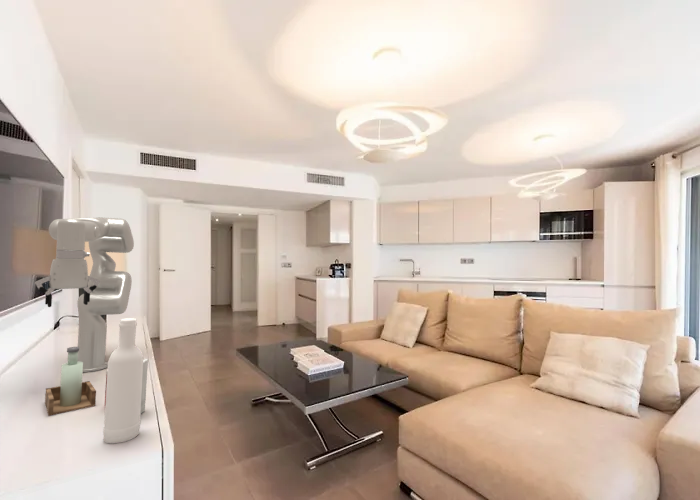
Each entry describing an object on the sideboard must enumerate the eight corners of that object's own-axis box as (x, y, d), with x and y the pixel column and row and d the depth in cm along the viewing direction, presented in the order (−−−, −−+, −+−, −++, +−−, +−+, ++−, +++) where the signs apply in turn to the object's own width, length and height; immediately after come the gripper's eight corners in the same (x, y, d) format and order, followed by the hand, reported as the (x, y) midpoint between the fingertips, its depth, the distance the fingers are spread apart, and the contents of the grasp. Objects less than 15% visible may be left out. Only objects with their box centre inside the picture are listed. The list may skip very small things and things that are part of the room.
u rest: (44, 403, 108) (45, 388, 108) (88, 394, 115) (89, 381, 116) (48, 416, 99) (49, 399, 99) (95, 405, 107) (96, 390, 107)
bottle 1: (58, 402, 107) (61, 347, 107) (80, 398, 111) (82, 344, 111) (60, 408, 103) (63, 351, 104) (82, 403, 107) (84, 348, 107)
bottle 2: (121, 445, 84) (128, 322, 86) (94, 441, 86) (102, 320, 87) (146, 430, 92) (152, 317, 93) (122, 427, 94) (128, 316, 95)
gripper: (98, 255, 127) (96, 302, 127) (35, 254, 115) (32, 306, 115) (103, 256, 122) (100, 304, 122) (37, 255, 109) (34, 309, 109)
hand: (67, 305), depth 118 cm, fingers open, 9 cm apart
